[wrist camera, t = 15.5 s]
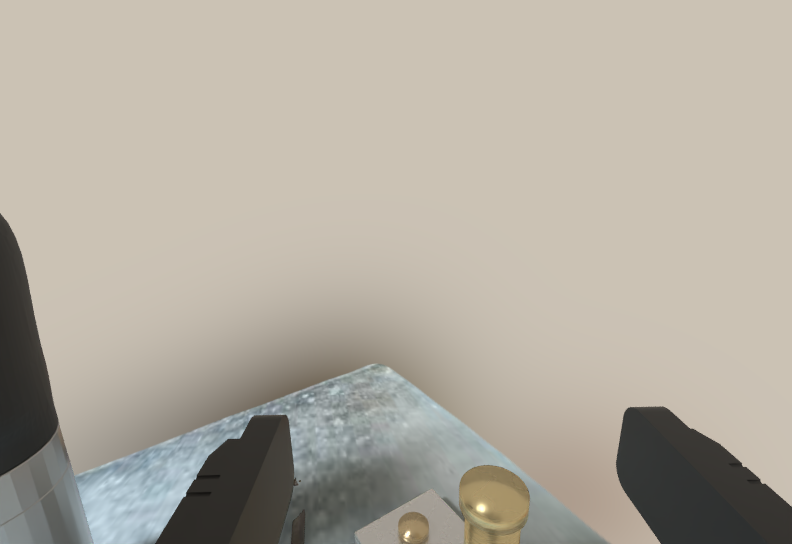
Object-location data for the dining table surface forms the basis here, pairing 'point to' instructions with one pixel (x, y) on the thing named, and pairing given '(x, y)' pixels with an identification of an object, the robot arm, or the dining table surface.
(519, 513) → the pin
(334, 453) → the dining table surface
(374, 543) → the gray block
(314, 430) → the dining table surface
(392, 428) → the dining table surface
